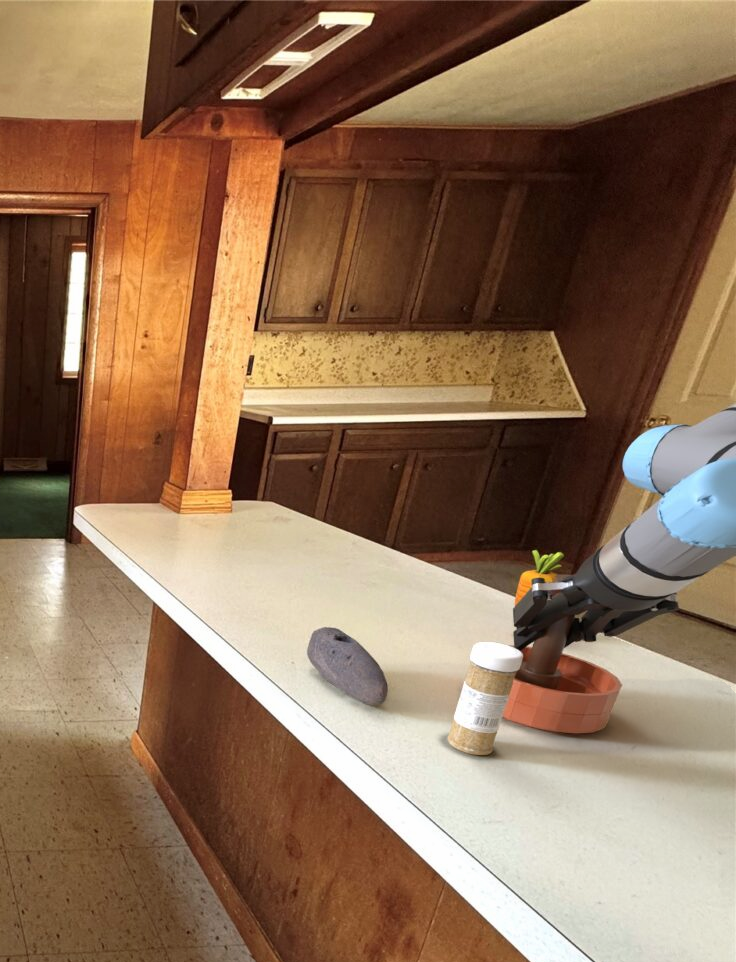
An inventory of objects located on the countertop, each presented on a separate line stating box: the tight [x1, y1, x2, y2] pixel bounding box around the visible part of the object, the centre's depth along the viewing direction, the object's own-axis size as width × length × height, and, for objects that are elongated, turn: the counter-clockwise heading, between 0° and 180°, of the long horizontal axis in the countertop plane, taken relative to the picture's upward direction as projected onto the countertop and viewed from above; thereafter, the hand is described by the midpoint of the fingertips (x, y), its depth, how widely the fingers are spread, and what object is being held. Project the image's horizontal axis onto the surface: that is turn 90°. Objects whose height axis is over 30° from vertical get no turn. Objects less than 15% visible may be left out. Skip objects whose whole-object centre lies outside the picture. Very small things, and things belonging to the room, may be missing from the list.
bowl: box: [502, 644, 623, 734], centre depth 88 cm, size 14×14×6 cm
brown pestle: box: [515, 573, 576, 690], centre depth 87 cm, size 4×4×16 cm
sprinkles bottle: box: [446, 641, 523, 756], centre depth 79 cm, size 5×5×13 cm
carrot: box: [514, 549, 565, 607], centre depth 106 cm, size 5×5×15 cm
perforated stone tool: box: [306, 626, 389, 707], centre depth 94 cm, size 15×5×7 cm, turn 1°
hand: (534, 642), depth 91 cm, fingers closed on brown pestle, 3 cm apart
